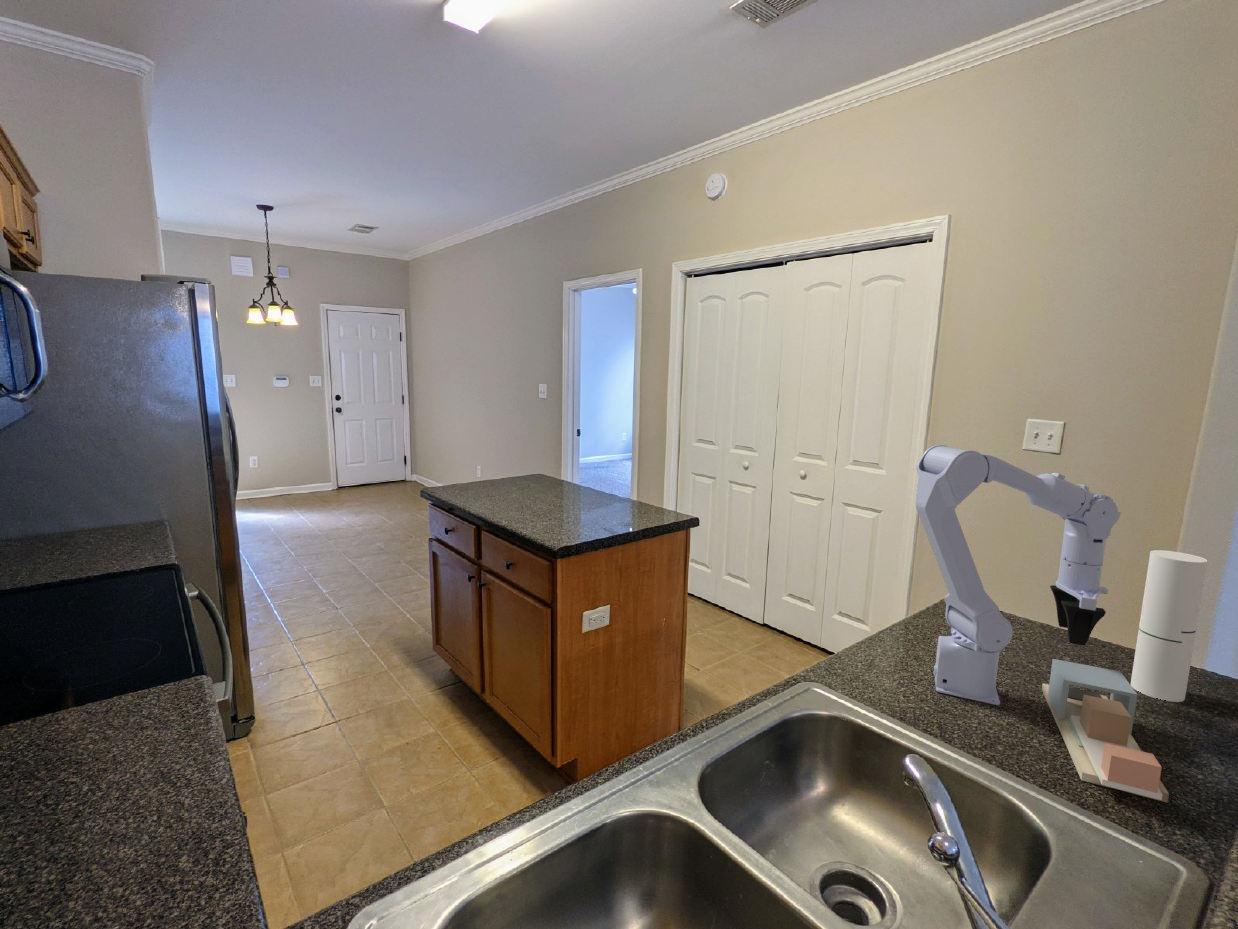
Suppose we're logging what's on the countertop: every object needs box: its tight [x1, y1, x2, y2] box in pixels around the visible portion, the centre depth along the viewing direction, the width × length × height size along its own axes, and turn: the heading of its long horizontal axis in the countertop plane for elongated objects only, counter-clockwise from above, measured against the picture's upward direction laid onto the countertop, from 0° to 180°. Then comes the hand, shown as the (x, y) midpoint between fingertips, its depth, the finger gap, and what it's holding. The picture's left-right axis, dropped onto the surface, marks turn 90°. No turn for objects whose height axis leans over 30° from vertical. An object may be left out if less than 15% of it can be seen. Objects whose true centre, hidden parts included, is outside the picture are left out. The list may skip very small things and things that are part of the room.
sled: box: [1070, 695, 1163, 801], centre depth 82 cm, size 6×17×5 cm, turn 153°
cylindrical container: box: [1130, 549, 1208, 703], centre depth 101 cm, size 7×7×25 cm
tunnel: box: [1048, 658, 1138, 735], centre depth 93 cm, size 9×8×8 cm
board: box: [1041, 683, 1170, 803], centre depth 89 cm, size 9×27×1 cm, turn 153°
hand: (1071, 635), depth 101 cm, fingers open, 7 cm apart
